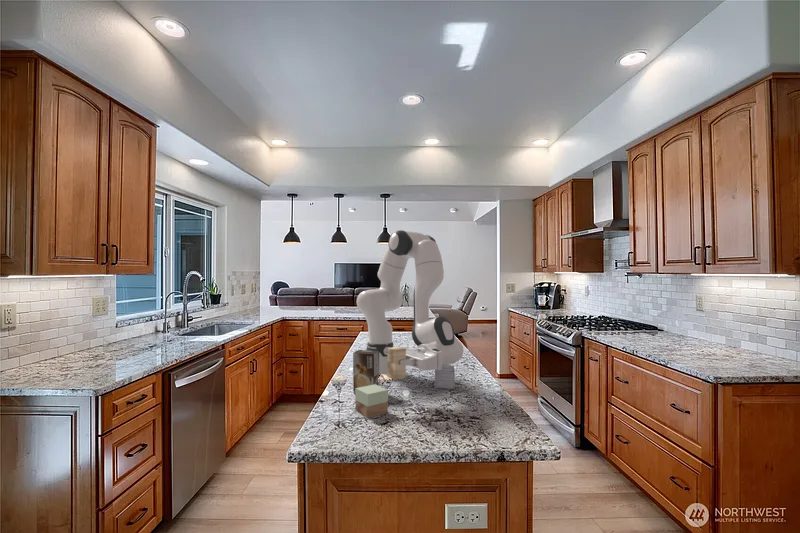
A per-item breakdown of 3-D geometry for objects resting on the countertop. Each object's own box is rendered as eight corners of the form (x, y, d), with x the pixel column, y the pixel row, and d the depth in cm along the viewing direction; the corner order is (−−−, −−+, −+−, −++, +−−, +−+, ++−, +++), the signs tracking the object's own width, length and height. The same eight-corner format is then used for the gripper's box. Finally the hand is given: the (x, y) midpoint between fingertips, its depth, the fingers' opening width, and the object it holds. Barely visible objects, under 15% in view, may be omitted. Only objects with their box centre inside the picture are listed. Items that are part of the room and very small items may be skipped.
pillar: (387, 376, 139) (387, 347, 139) (398, 374, 141) (398, 346, 141) (394, 379, 135) (395, 350, 135) (405, 377, 138) (405, 348, 138)
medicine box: (454, 386, 166) (454, 365, 166) (454, 389, 161) (454, 367, 161) (435, 385, 167) (435, 364, 167) (434, 388, 162) (434, 367, 162)
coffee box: (380, 391, 159) (380, 350, 159) (374, 396, 152) (374, 354, 152) (358, 389, 161) (358, 349, 161) (352, 394, 155) (352, 352, 155)
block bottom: (355, 411, 137) (355, 399, 137) (375, 406, 142) (375, 395, 142) (366, 418, 131) (366, 406, 131) (387, 413, 135) (387, 401, 135)
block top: (355, 400, 137) (355, 388, 137) (375, 395, 142) (375, 384, 142) (367, 406, 130) (367, 394, 130) (388, 401, 135) (388, 389, 135)
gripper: (409, 342, 154) (378, 347, 146) (444, 352, 138) (412, 357, 130) (409, 359, 154) (378, 364, 146) (444, 370, 138) (412, 377, 130)
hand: (395, 361), depth 138 cm, fingers closed on pillar, 4 cm apart
